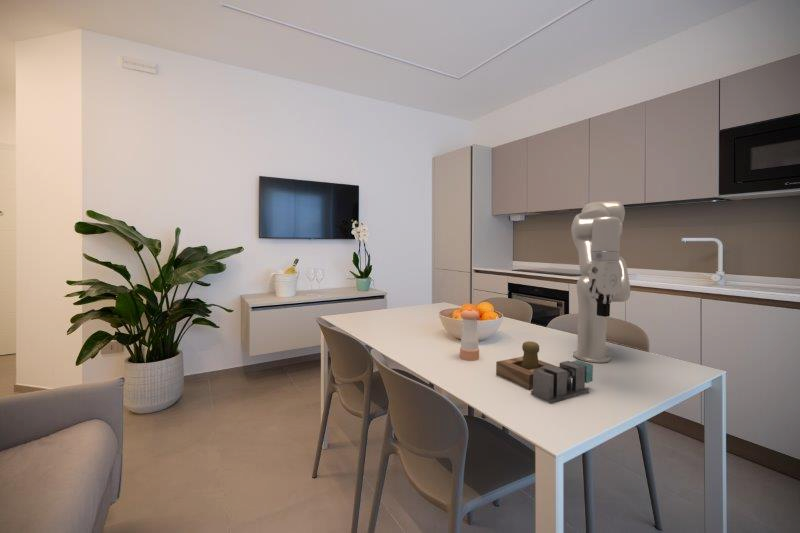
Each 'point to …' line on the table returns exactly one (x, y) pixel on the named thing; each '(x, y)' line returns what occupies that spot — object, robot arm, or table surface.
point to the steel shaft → (587, 371)
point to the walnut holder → (517, 371)
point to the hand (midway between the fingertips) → (603, 315)
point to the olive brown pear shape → (530, 355)
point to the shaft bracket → (559, 382)
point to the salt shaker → (469, 335)
